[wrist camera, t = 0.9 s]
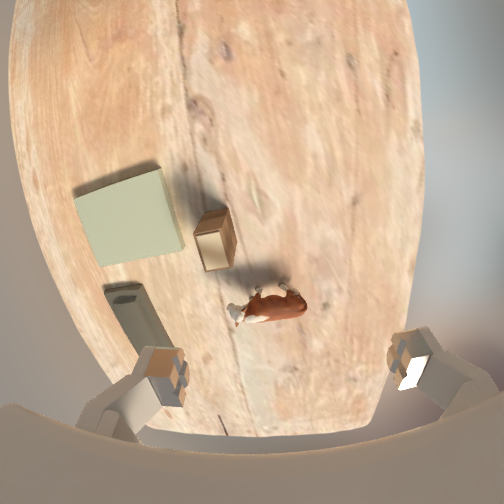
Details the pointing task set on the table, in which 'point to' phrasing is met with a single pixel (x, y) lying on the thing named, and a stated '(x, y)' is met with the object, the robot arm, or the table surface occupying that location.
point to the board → (130, 220)
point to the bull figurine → (269, 307)
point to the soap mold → (137, 317)
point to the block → (216, 240)
